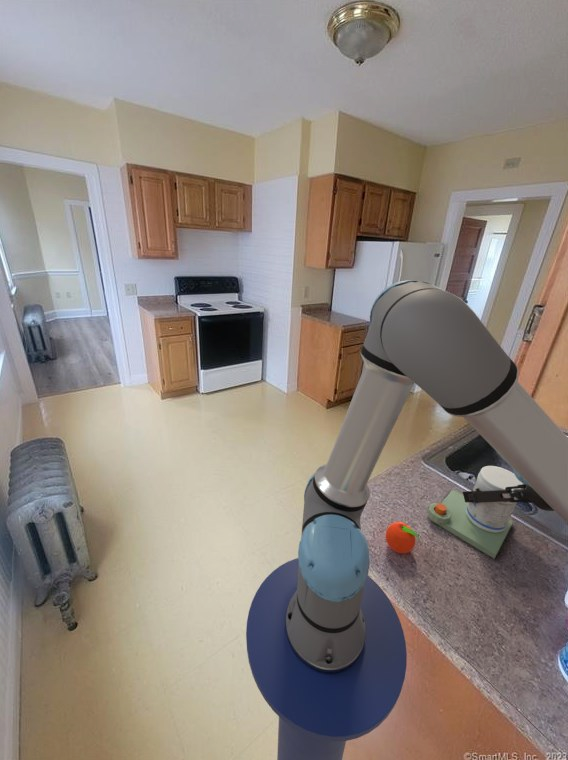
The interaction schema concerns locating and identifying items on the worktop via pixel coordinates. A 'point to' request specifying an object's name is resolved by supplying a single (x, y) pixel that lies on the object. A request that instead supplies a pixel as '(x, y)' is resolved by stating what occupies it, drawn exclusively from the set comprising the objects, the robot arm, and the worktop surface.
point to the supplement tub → (492, 513)
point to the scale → (467, 525)
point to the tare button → (440, 509)
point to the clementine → (400, 537)
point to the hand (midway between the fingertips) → (482, 495)
